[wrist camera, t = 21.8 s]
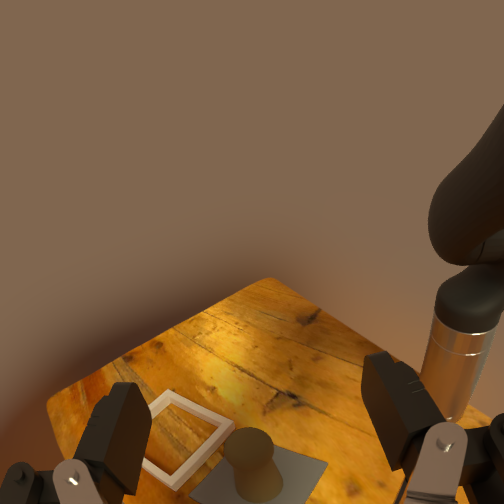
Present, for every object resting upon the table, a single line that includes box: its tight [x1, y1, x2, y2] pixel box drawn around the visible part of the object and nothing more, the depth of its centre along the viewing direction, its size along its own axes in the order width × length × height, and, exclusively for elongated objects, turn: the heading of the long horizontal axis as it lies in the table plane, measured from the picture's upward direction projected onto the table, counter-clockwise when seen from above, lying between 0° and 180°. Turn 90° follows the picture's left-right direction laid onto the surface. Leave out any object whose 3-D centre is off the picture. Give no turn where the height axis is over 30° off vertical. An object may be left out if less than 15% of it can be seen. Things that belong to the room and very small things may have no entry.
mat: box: [188, 445, 328, 504], centre depth 30 cm, size 13×13×1 cm
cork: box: [224, 427, 283, 503], centre depth 28 cm, size 6×6×11 cm
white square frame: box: [142, 389, 236, 492], centre depth 38 cm, size 14×14×2 cm
